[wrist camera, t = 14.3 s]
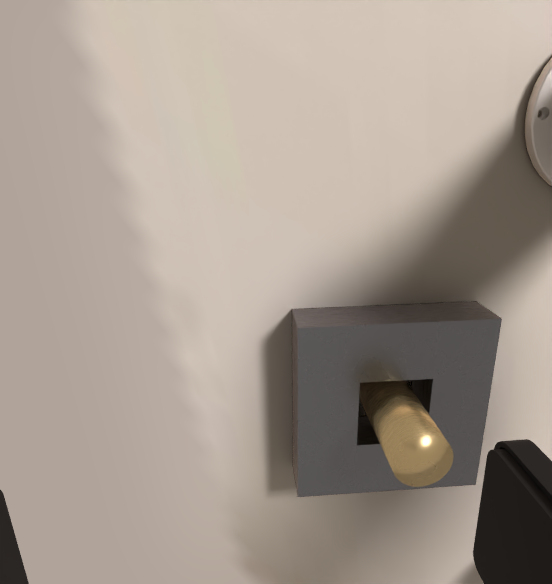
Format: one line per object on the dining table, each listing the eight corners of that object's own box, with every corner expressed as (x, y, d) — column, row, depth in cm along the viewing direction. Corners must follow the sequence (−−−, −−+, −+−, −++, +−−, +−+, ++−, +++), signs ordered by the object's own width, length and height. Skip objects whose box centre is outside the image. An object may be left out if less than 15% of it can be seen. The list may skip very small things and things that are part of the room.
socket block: (476, 301, 39) (501, 318, 35) (455, 454, 44) (475, 484, 40) (291, 309, 38) (297, 327, 34) (292, 465, 43) (297, 496, 39)
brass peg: (406, 364, 40) (457, 433, 31) (402, 406, 42) (449, 484, 32) (358, 366, 40) (394, 436, 31) (355, 408, 42) (389, 488, 32)
